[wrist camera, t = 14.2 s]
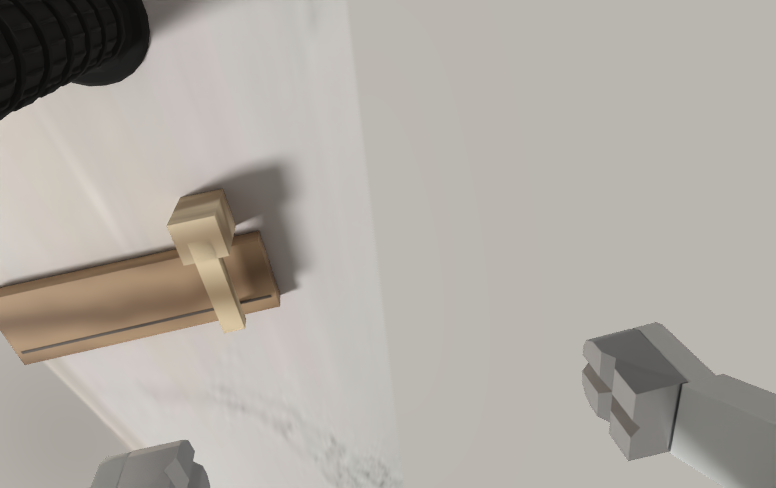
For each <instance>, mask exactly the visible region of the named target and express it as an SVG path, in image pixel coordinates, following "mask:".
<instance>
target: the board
mask: <svg viewBox="0 0 776 488" xmlns="http://www.w3.org/2000/svg"><path fill="white" fill-rule="evenodd" d="M223 259H224V262H225V265H226V267H227V270H228V272H229V275H230V278H231V280H232V283H233V286H234V288H235V291H236V294H237V296H238V299H239V302H240V304H241V307H242V310H243V312H244V314H248V313H253V312H257V311H261V310H266V309H270V308H274V307H279V306H280V293H279V290H278V287H277V284H276V281H275V278H274V275H273V272H272V269H271V266H270V263H269V260H268V257H267V254H266V251H265V248H264V244H263V241H262V238H261V235H260V232H259V231H256V232H252V233H247V234H243V235H238V236H234V237H233V241H232V245H231V250H230V255H229V256H226V257H223ZM214 321H218V317H217V315H216V312H215V310H214V308H213V305H212V303H211V300H210V298H209V295H208V293H207V291H206V288H205V286H204V283H203V281H202V279H201V276H200V274H199V271H198V269H197V266H196V264H195V263H194V264H190V265H185V266H184V265H183V263H182V260H181V258H180V256H179V253H178V251H177V249H174V250H170V251H165V252H161V253H156V254H152V255H147V256H143V257H138V258H133V259H129V260H124V261H120V262H115V263H111V264H106V265H102V266H97V267H93V268H88V269H83V270H79V271H74V272H70V273H65V274H61V275H56V276H52V277H47V278H43V279H38V280H33V281H29V282H24V283H20V284H15V285H11V286H6V287H2V288H0V331H1V332H2V333H3V335H4V336H5V338H6V339H7V341H8V342H9V343H10V345H11V346H12V348H13V349H14V351H15V352H16V353H17V355H18V356H19V358H20V359H21V361H22V362H23V363H24V365H27V364H31V363H35V362H40V361H44V360H49V359H53V358H57V357H62V356H66V355H70V354H75V353H79V352H83V351H88V350H92V349H96V348H101V347H105V346H109V345H114V344H118V343H122V342H127V341H131V340H135V339H140V338H144V337H148V336H153V335H157V334H162V333H166V332H170V331H175V330H179V329H183V328H188V327H192V326H196V325H201V324H205V323H209V322H214Z"/></svg>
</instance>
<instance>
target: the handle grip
mask: <svg viewBox="0 0 776 488" xmlns="http://www.w3.org/2000/svg"><path fill="white" fill-rule="evenodd" d="M149 34H150V31H149V24H148V16H147V13H146V10H145V8H144V5H143V3H142V0H0V120H2V119H3V118H4V117H5V116H7V115H8V114H9V113H11V112H12V111H17V110H19V109H21V108H22V107H25V106H27V105H29V104H32V103H33V102H34V101H35V100H36V99H37V98H38V97H41V98H42V97H44V96H46V95H47V94H50V93H52V92H54V91H56V90H57V89H58V88H59V87H60V86H64V85H66V84H68V83H70V82H72V83H76V84H81V85H86V86H103V85H109V84H113V83H117V82H120V81H122V80H123V79H125V78H126V77H128V76H129V75H131V74H132V73H133V72H134V71H135V70H136V69H137V68H138V66H139V65H140V64H141V63H142V61H143V59H144V56H145V54H146V52H147V49H148V43H149Z"/></svg>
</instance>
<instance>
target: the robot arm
mask: <svg viewBox="0 0 776 488" xmlns="http://www.w3.org/2000/svg"><path fill="white" fill-rule="evenodd" d="M583 356H584V357H585V358H586V360H587V361H588V362H589V363H588V364H587V366H586V367H585V368H584V369H583V371H582V380H583V381H582V382H583V387H584V391H585V395H586V397H587V399H588V401H589V403H590V406H591V407H592V409H593V410H594V412H595V413H596V415H597V416H598V417H600V418H602V419H604V420H606V421H608V422H610V428H609V434H610V435H611V437H612V438H613V440H614V441H615V443H616V444H617V445H618V447H619V448H620V450H621V451H622V453H623V454H624V456H625V457H626V458H627V460H628V461H630V460H635V459H639V458H643V457H648V456H652V455H656V454H660V453H665V452H669V451H671V452H670V454H672V455H673V456H675V457H677V458H678V459H680V460H681V461H683V462H684V463H686V464H688V465H689V466H691V467H692V468H694V469H696V470H697V471H699V472H700V473H702V474H704V475H705V476H707V477H708V478H710V479H712V480H713V481H715V482H716V483H718V484H719V485H721V486H723V487H724V488H776V394H774V393H772V392H769V391H767V390H764V389H761V388H759V387H756V386H753V385H751V384H748V383H745V382H743V381H740V380H738V379H735V378H732V377H730V376H727V375H725V374H721V375H717V376H716V375H715V374H714V373H713V372H712V371H711V370H710V369H709V368H708V367H706V366H705V365H704V364H703V363H702V362H701V361H700V360H699V359H698V358H697V357H696V356H695V355H694V354H693V353H692V352H690V350H689V349H687V347H685V346H684V345H683V344H682V343H681V342H680V341H679V340H678V339H677V338H676V337H675V336H674V335H673V334H672V333H671V332H670V331H668V329H666V328H665V327H664V326H663V325H662V324H659V323H657V322H655V323H651V324H647V325H644V326H640V327H636V328H633V329H628V330H624V331H620V332H616V333H612V334H608V335H604V336H601V337H597V338H593V339H589V340H586V342H585V344H584V348H583ZM194 453H195V451H194V449H193V447H192V446H191V444H190V442H189V441H188V440H180V441H176V442H171V443H167V444H162V445H158V446H153V447H149V448H144V449H139V450H135V451H132V452H128V453H124V454H119V455H115V456H111V457H106V458H105V459H104V460H103V461H102V462H101V464H100V465H99V467H98V470H97V472H96V475H95V477H94V480H93V482H92V485H91V488H210V483H209V480H208V476H207V473H206V471H205V469H204V467H203V466H202V465H200V464H197V463H195V462H193V458H194Z"/></svg>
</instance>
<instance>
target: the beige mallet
mask: <svg viewBox="0 0 776 488" xmlns="http://www.w3.org/2000/svg"><path fill="white" fill-rule="evenodd" d="M235 226H236V225H235V222H234V219H233V217H232V214H231V211H230V208H229V205H228V202H227V199H226V197H225V194H224V191H223V189H219V190H214V191H209V192H205V193H200V194H195V195H190V196H185V197H181V198H180V199H179V201H178V203H177V205H176V208H175V210H174V212H173V214H172V216H171V218H170V220H169V222H168V224H167V228H168V230H169V232H170V235H171V237H172V239H173V242H174V244H175V246H176V249H177V251H178V253H179V256H180V258H181V260H182V263H183V265H184V266H185V265H190V264H194V263H195V264H196V266H197V269H198V271H199V274H200V276H201V279H202V281H203V283H204V286H205V288H206V291H207V293H208V295H209V298H210V300H211V303H212V305H213V308H214V310H215V312H216V315H217V317H218V320H219V322H220V325H221V327H222V329H223V332H224V333H227V332H231V331H236V330H240V329H245V323H246V318H245V315H244V312H243V310H242V307H241V304H240V302H239V299H238V296H237V294H236V291H235V288H234V286H233V283H232V280H231V278H230V275H229V272H228V270H227V267H226V265H225V262H224V259H223V257H226V256H229V255H230V250H231V245H232V241H233V236H234V231H235Z"/></svg>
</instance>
